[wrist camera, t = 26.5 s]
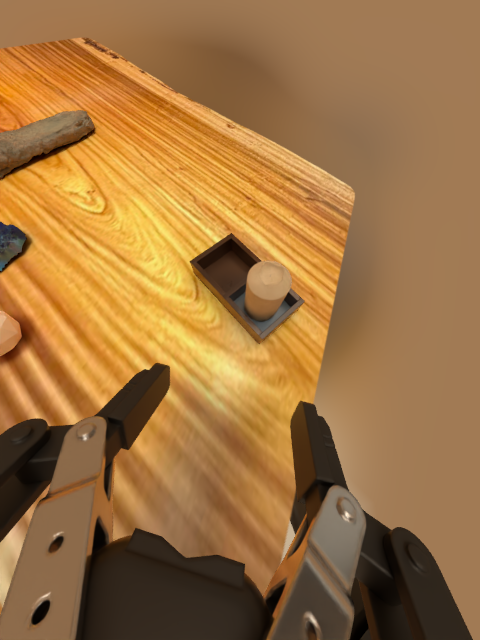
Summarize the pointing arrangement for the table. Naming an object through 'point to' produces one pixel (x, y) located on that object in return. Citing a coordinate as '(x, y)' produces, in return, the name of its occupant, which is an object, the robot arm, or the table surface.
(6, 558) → the table surface
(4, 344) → the geometric ball
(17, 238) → the rock
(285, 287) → the candle
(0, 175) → the long grey stone
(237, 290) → the box
